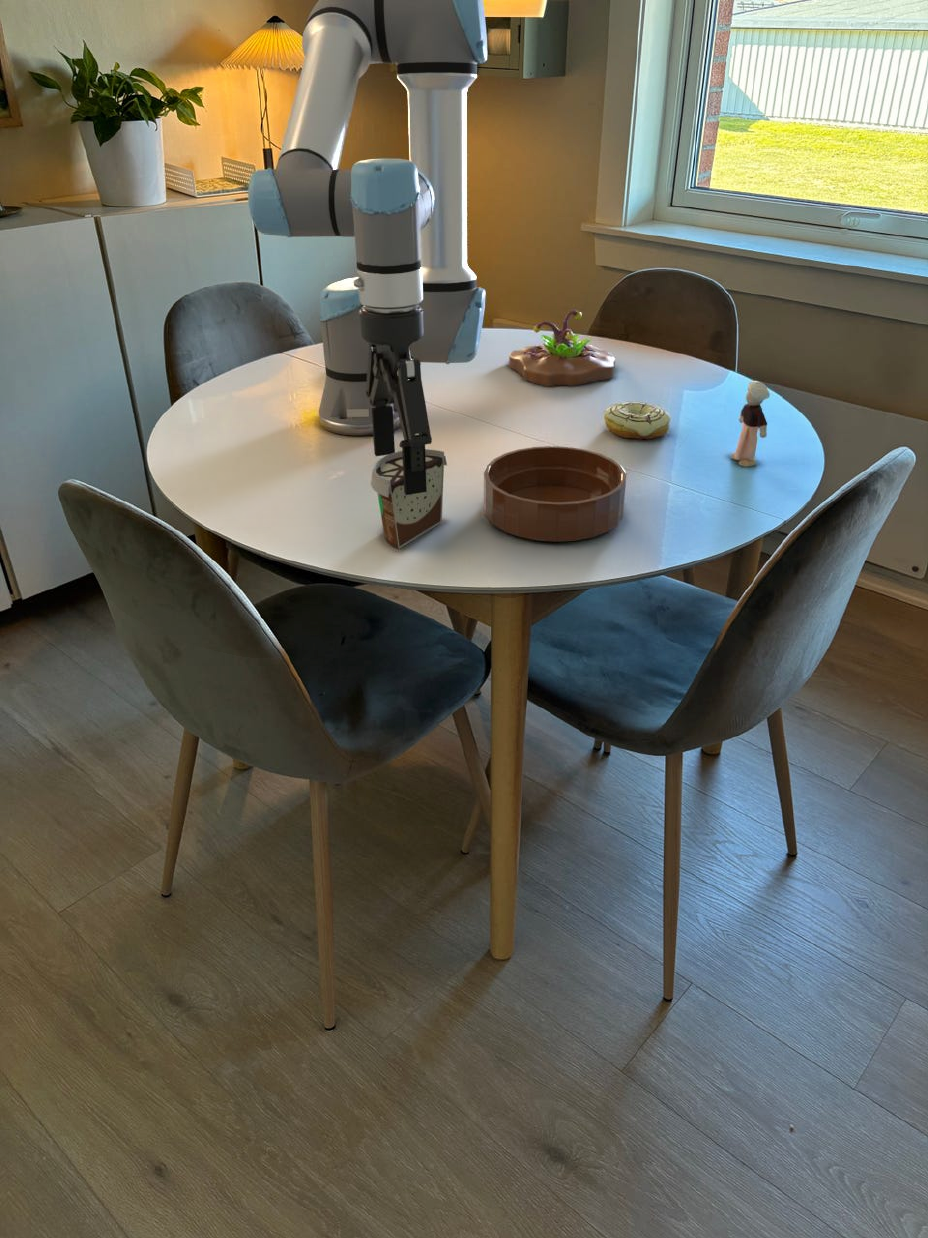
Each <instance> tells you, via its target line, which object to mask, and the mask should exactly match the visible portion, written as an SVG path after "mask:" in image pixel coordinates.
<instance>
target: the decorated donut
mask: <svg viewBox="0 0 928 1238" xmlns="http://www.w3.org/2000/svg"><path fill="white" fill-rule="evenodd" d="M603 420H604V422H605V426H606V428H607V429H608V430H609V432H611V433H613V434H614V435H617V436H618V437H621V438H622V437H623V438H624V439H639V440H644V439H646V440H651V439H655V438H659V437H660V436H664V435H666V434H667V433H668V431H669V428H670V421H671V415H670V414H669V412H667V410H665V409H664V408H663V407H661V406H659V405H656V404H651V403H648V402H642V401H623V402H617V403H615V404H612V405H611V406H610V407H608V408H607V409H606V410H605V412H604V416H603Z"/></svg>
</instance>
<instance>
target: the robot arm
mask: <svg viewBox="0 0 928 1238" xmlns="http://www.w3.org/2000/svg"><path fill="white" fill-rule="evenodd" d="M484 15H485V7H484V1H483V0H318V1H317V2H316V3H315V5H314V6H313V8H312V10H311V11H310V13H309V15H308V17H307V19H306V23H305V26H304V30H303V34H302V41H301V46H302V52H303V55H304V60H303V64H302V68H301V71H300V76H299V79H298V83H297V87H296V90H295V95H294V98H293V102H292V105H291V106H292V107H291V110H290V113H289V117H288V121H287V125H286V129H285V132H284V137H283V139H282V143H281V148H280V153H279V155H278V160H277V163H276V166H275V168H272V167H267V169H257V170H256V171H254V172H253V173H252V174H251V176H250V178H249V182H248V188H247V189H248V190H247V198H248V199H247V200H248V209H249V214H250V217H251V220H252V223H253V225H254V227H255V229H256V230H257V231H258V232H259V233H261V234H262V235H267V236H277V237H278V236H279V237H287V238H293V237H294V238H298V237H299V238H300V237H304V238H305V237H309V238H310V237H312V238H313V237H344V238H345V237H347V238H354V244H355V245H354V246H355V258H356V272H357V276H355V277H350V278H346V279H342V280H339V281H336V282H333V283H331V284H329V285H327V286H326V287H325V288H323V290H322V291H321V292H320V295H319V318H318V319H319V321H320V328H321V329H320V330H321V340H322V349H323V359H324V368H325V382H324V386H323V391H322V394H321V399H320V403H319V408H318V421H319V424H320V427H322V428H323V429H325V430H326V431H329V432H331V433H335V434H340V435H344V436H373V437H372V438H373V450H374V451H373V452H374V453H373V454H374V456H375V457H382V456H387V455H389V454H392V453H395V452H396V444H395V441H396V440H395V430H397V429H399V428H401V432H402V436H403V439H402V440H400V441H399V444H398V445H399V447H400V448H401V451H402V456H403V477H404V493H405V494H406V495H410V494H417V493H423V492H427V484H426V456H425V449H426V445H431V444H432V442H433V437H432V434H431V433H432V432H431V429H430V428H431V427H430V422H429V415H428V410H427V405H426V404H427V403H426V399H425V392H424V386H423V380H422V370H421V366H422V364H421V363H431V364H432V363H433V364H435V363H437V364H446V365H450V364H460V363H461V364H464V363H469V362H471V361H473V360H474V359H476V356H477V354H478V351H479V346H480V341H481V336H482V331H483V324H484V315H485V307H486V297H487V294H486V289H485V288H482V287H481V286H477V274H475V272H474V271H473V270H472V268H470V267H469V266H468V245H467V244H468V242H467V241H468V238H467V237H468V231H467V230H468V226H467V224H468V223H467V221H468V218H467V217H468V213H467V212H468V211H467V210H468V209H467V207H468V204H467V203H468V201H467V199H468V198H467V197H468V196H467V195H468V194H467V191H468V189H467V184H468V183H467V180H468V177H467V173H468V172H467V170H468V169H467V168H468V167H467V166H468V165H467V164H468V163H467V161H468V159H467V157H468V153H467V142H468V141H467V138H468V137H467V92H468V89H469V87H471V85H472V84H473V83H474V82H475V81H476V79H477V78H478V64H483V63H486V61H487V60H488V35H487V34H488V33H487V24H486V15H485V16H484ZM372 64H395V65H396V78H397V79H398V81H399V82H400V83H401V84H402V85H403V86H404V88H405V89H406V91H407V106H408V107H407V108H408V109H407V111H408V145H409V147H408V148H409V149H408V150H409V159H406V158H370V159H365V160H364V159H363V160H359V161H357V162H355V163H354V164H353V165H352V167H351V169H340V163H341V158H342V154H343V150H344V146H345V141H346V137H347V133H348V127H349V123H350V119H351V114H352V110H353V106H354V101H355V98H356V93H357V89H358V85H359V79H360V78H362V77H363V76H364V74H365V73H366V72H367V71H368V69H369V67H370V65H372Z"/></svg>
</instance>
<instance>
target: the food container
mask: <svg viewBox="0 0 928 1238" xmlns="http://www.w3.org/2000/svg"><path fill="white" fill-rule="evenodd" d="M425 456H426V484H427V492H423V493H417V494H410V495H406V494H405V493H404V477H403V456H402V450H399V451H395V453H392V454H389V455H383V457H381V458H379V459H378V460H377V461H376V462H375V464H374V466H373V469H372V472H371V478H370V486H371V488H372V489H373V490H374V492H376V493H377V499H378V504H379V512H380V518H381V525H382V530H383V536H384V540H385V541H386V543H387V544H388V545H389V546H390V547H392V548H395V549H397V550H400V549H402V548H403V547H405V546H406V545H408V544H409V543H412V541H415V540H416V539H418V537H421V536H422V535H424V534H426V533H427V532H429V531H430V530H432V529H434V528H435V527H437V526H438V525H440V524H442V523H443V501H444V499H443V497H444V495H443V494H444V474H445V473H444V472H445V466H447V465H448V462H447V458H446V455H445V451H442V450H436V449H429V448H425Z"/></svg>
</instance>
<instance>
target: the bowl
mask: <svg viewBox="0 0 928 1238" xmlns="http://www.w3.org/2000/svg"><path fill="white" fill-rule="evenodd" d="M626 485H627V472H626V471H625V469H624V467H623V466H622V465H621V464H620V463H619V462H617V461H616V460H615V459H613V458H611V457H609V456H607V455H605V454H602V453H599V452H596V451H592V450H588V449H585V448H578V447H572V446H558V445H557V446H556V445H545V446H532V447H525V448H519V449H516V450H512V451H509V452H505V453H502V454H501V455H499V456H497V457H495V458H493V459H492V460H490V462H489V463H488V464H487V465H486V466H485V469H484V472H483V510H484V515H485V517H486V519H488V521H489V522H490V523H491V524H492V525H493V526H495V527H497V528H498V529H500V530H502V531H503V532H505V533H508V534H510V535H513V536H516V537H518V538H524V539H528V540H534V541H541V542H553V543H555V542H557V543H558V542H559V543H560V542H575V541H580V540H585V539H589V538H590V539H591V538H594V537H597V536H600V535H603V534H605V533H608V532H609V531H611V530H612V529H614V528H615V527H617V526H618V525H619V524H620V522H621V520H623V518H624V510H625V509H624V508H625V498H626Z"/></svg>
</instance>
